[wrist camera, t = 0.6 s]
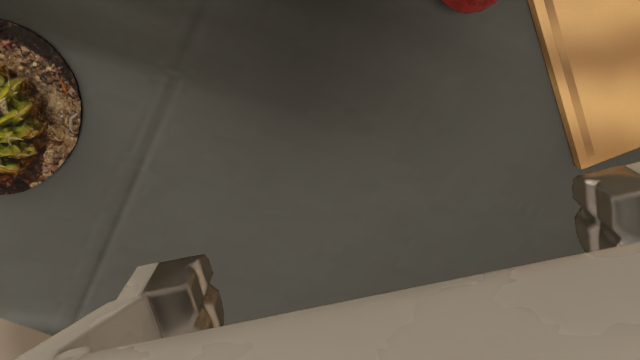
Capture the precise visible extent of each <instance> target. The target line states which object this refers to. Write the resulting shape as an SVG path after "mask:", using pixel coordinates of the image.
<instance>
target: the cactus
mask: <svg viewBox="0 0 640 360" xmlns="http://www.w3.org/2000/svg"><path fill="white" fill-rule="evenodd" d="M80 102H81V100H80V99H79V94H78V91H77V83H76V81H75V78H74V76H73V74H72V72H71V71H70V70H69V68H68V67H67V65H66V64H65V63H64V61H63V60H62V58H61V57H60V56H59V54H58V53H57V52H56V51H55V50H54V49H53V48H52V47H51V46H50V45H49V44H48V43H47V42H45V41H44V40H43V39H41V38H40V37H38V36H37V35H35V34H34V33H32V32H31V31H29V30H27V29H24V28H22V27H20V26H17V25H16V24H13V23H11V22H8V21H2V20H0V195H4V194H6V195H7V194H14V193H19V192H24V191H26V190H28V189H30V188H32V187H34V186H36V185H38V184H40V183H42V182H43V181H44V180H46V179H47V178H48V177H50V176H51V175H52V174H53V173H54V171H56V170H57V169H58V168H59V167H60V165H61V164H62V163H63V162H64V161H65V160H66V157H67V155H68V154H69V153H70V152H71V150H72V149H73V147H74V145H75V143H76V141H77V138H78V131H79V126H80V121H81V117H80V113H81V106H80Z"/></svg>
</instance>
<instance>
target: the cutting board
mask: <svg viewBox="0 0 640 360" xmlns="http://www.w3.org/2000/svg"><path fill="white" fill-rule="evenodd" d="M527 1H528V4H529V8H530V11H531V15H532V18H533V22H534V25H535V29H536V32H537V36H538V39H539V42H540V46H541V49H542V53H543V56H544V60H545V63H546V67H547V70H548V74H549V77H550V81H551V84H552V87H553V91H554V94H555V98H556V101H557V105H558V108H559V112H560V115H561V119H562V122H563V126H564V129H565V133H566V136H567V139H568V143H569V146H570V150H571V153H572V157H573V160H574V164H575V166H577V167H579V168H580V169H585V168H587V167H590V166H592V165H595V164H597V163H600V162H603V161H605V160H608V159H610V158H613V157H616V156H618V155H621V154H623V153H626V152H629V151H631V150H634V149H636V148H639V147H640V0H527Z"/></svg>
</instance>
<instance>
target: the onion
mask: <svg viewBox="0 0 640 360" xmlns="http://www.w3.org/2000/svg"><path fill="white" fill-rule="evenodd" d="M442 1H443V3H444V4H446V5H447V6H449V7H450V8H451V9H453V10H455V11H459V12H462V13H473V12H479V11H482V10H484V9H486V8H487V7H489V6H491V5H492V4H494V3H495V2H496V1H497V0H442Z"/></svg>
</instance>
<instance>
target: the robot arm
mask: <svg viewBox="0 0 640 360" xmlns="http://www.w3.org/2000/svg"><path fill="white" fill-rule="evenodd" d="M572 192H573V199H574V200H575V201H576V202H577V203H578V204H579V205H580V206H581V207H580V209H579V211H578V212H577V214H576V216H575V226H576V233H577V236H578V239H579V242H580V244H581V246H582V248H583V249H584V251H585V252H586V253H583V254H578V255H573V256H568V257H563V258H558V259H553V260H548V261H543V262H538V263H533V264H528V265H523V266H518V267H513V268H508V269H503V270H498V271H493V272H488V273H483V274H479V275H474V276H469V277H464V278H459V279H454V280H449V281H444V282H439V283H434V284H429V285H424V286H419V287H414V288H409V289H404V290H399V291H394V292H389V293H384V294H379V295H375V296H370V297H365V298H360V299H355V300H350V301H345V302H340V303H335V304H330V305H325V306H320V307H315V308H310V309H305V310H300V311H295V312H290V313H285V314H280V315H275V316H271V317H266V318H261V319H256V320H251V321H246V322H241V323H236V324H231V325H226V326H223V324H224V311H223V306H222V300H221V297H220V294H219V290H217V289H216V288H215V287H213V286H212V285H211V284H210V280H211V277H212V274H213V271H212V268H211V265H210V262H209V259H208V258H207V257H206V255H205V254H202V255H197V256H192V257H186V258H181V259H176V260H171V261H166V262H157V263H153V264H148V265H144V266H139V267H137V268H136V270H135V272H134V273H133V275H132V276H131V278H130V279H129V281H128V282H127V284H126V285H125V287H124V289H123V290H122V292H121V293H120V295H119V296H118V298H117V299H116V301H112V302H108V303H107V304H105V305H103V306H102V307H100V308H98V309H97V310H95V311H93V312H92V313H90V314H88V315H87V316H85V317H84V318H82V319H80V320H79V321H77V322H75V323H74V324H72V325H70V326H69V327H67V328H65V329H64V330H62V331H60V332H59V333H57V334H55V335H54V336H52V337H51V338H49V339H47V340H46V341H44V342H42V343H41V344H39V345H37V346H36V347H34V348H33V349H31V350H29V351H28V352H26V353H24V354H23V355H21V356H20V357H18V358H16V359H14V360H640V162H637V163H633V164H629V165H625V166H624V165H621V166H617V167H613V168H608V169H604V170H600V171H595V172H591V173H587V174H582V175H578V176H577V177H575V178H574V179H573V185H572Z"/></svg>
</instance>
